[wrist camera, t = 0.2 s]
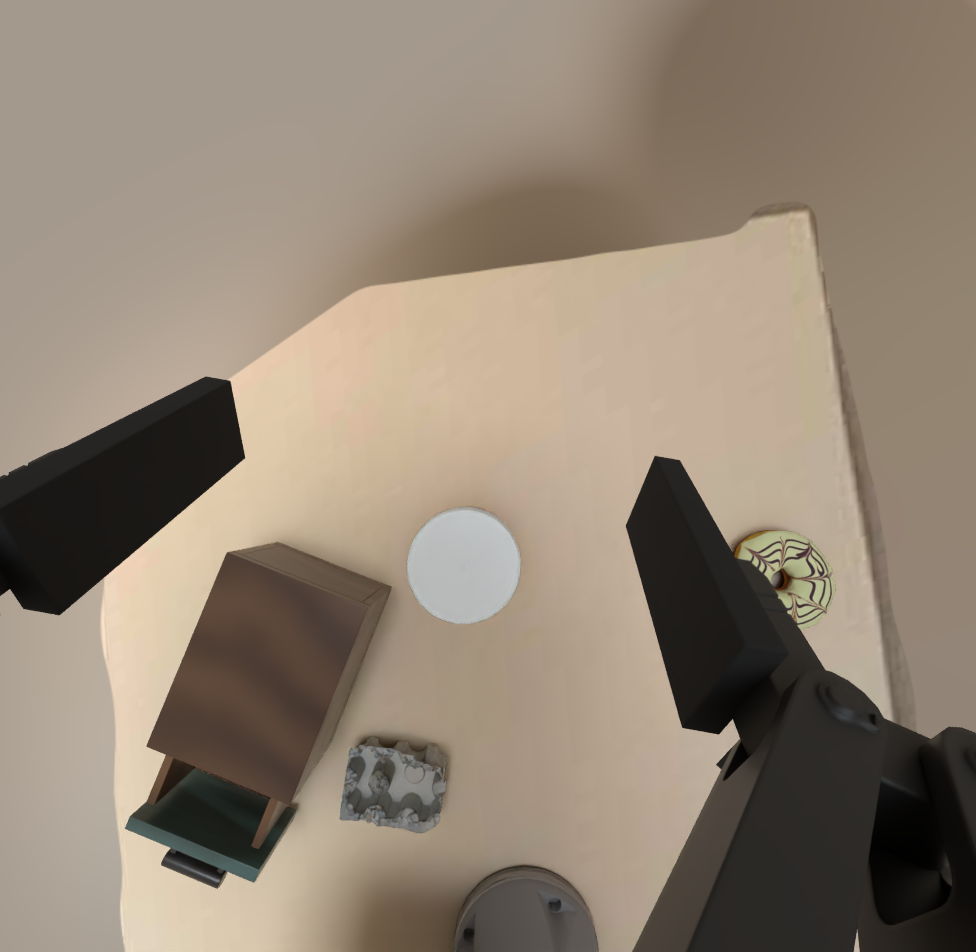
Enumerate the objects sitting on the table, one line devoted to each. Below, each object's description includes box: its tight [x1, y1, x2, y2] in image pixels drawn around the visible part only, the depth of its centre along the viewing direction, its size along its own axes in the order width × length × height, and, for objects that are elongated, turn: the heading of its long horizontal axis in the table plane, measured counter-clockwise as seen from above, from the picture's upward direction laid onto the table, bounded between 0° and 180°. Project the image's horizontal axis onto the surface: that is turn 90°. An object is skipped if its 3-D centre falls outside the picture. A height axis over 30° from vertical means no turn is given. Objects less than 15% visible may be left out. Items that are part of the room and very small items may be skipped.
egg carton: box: [340, 736, 447, 833], centre depth 45 cm, size 11×8×4 cm
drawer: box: [125, 755, 296, 889], centre depth 43 cm, size 22×13×8 cm, turn 159°
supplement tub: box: [407, 507, 521, 624], centre depth 41 cm, size 10×10×15 cm
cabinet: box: [147, 542, 391, 805], centre depth 43 cm, size 19×14×9 cm
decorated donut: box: [734, 530, 836, 629], centre depth 46 cm, size 10×11×4 cm
